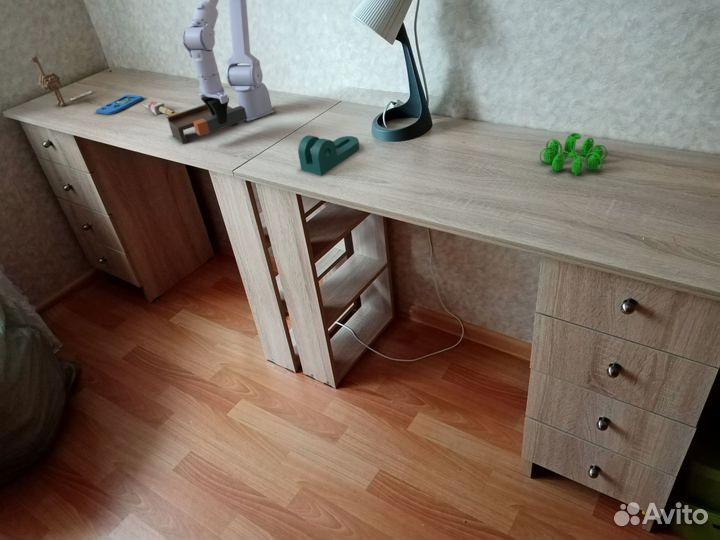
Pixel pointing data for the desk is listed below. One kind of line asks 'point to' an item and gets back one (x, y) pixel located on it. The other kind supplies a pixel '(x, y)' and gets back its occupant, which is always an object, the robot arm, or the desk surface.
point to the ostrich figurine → (51, 83)
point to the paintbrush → (158, 108)
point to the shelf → (188, 120)
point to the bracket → (325, 153)
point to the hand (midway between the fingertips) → (221, 121)
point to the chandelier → (573, 154)
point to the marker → (213, 124)
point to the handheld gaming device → (119, 104)
